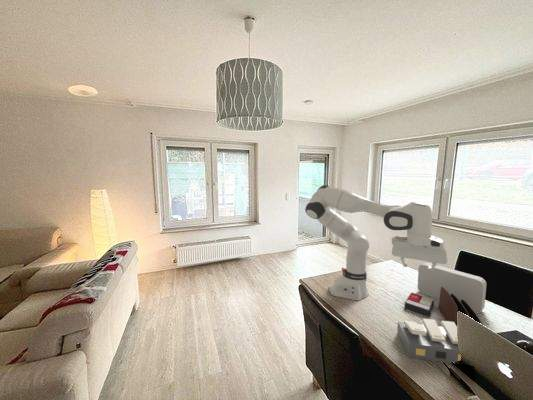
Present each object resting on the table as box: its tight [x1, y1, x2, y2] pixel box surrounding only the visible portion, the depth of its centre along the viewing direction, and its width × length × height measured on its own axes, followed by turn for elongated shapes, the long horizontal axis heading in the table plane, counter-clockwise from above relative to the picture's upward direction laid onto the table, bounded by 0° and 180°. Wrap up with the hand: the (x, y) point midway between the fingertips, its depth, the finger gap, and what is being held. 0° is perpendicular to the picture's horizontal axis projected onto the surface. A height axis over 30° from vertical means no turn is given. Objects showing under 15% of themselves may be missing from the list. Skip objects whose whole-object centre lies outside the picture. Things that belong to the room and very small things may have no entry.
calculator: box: [404, 292, 435, 318], centre depth 119 cm, size 11×4×15 cm
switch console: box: [396, 321, 461, 364], centre depth 90 cm, size 22×13×7 cm, turn 76°
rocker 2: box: [421, 318, 446, 342], centre depth 90 cm, size 4×9×2 cm, turn 166°
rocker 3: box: [440, 320, 458, 344], centre depth 88 cm, size 4×9×2 cm, turn 166°
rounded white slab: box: [417, 262, 487, 315], centre depth 123 cm, size 29×8×18 cm, turn 33°
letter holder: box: [438, 287, 483, 326], centre depth 105 cm, size 10×20×14 cm, turn 158°
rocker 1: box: [403, 320, 425, 335], centre depth 91 cm, size 4×9×2 cm, turn 166°
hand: (417, 268), depth 98 cm, fingers open, 8 cm apart
